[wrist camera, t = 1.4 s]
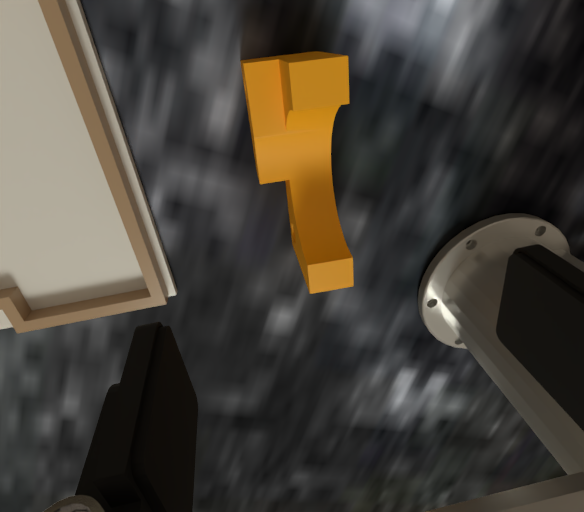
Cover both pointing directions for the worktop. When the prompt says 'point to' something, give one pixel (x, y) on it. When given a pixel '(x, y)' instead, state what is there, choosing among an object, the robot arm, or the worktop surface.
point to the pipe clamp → (302, 153)
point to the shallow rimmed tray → (67, 180)
